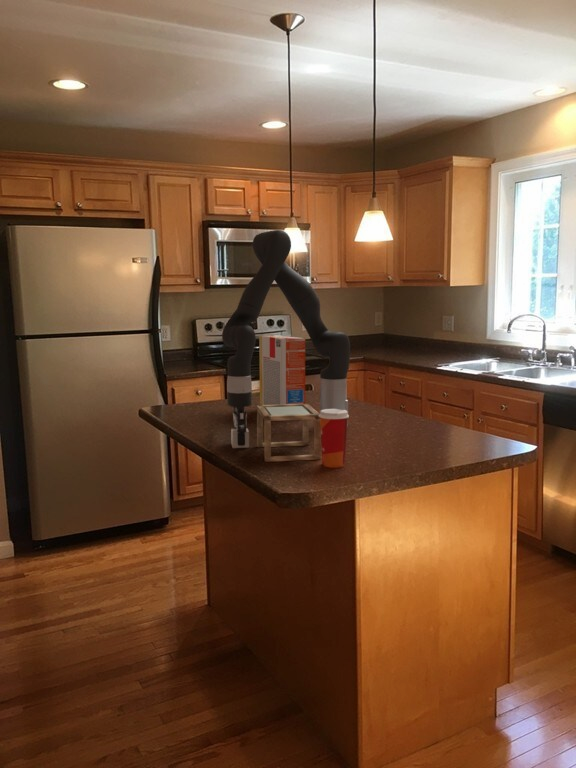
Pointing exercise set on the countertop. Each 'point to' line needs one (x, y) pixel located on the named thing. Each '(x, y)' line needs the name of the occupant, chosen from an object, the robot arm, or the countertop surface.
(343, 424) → the coffee cup
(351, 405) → the countertop surface
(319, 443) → the frame
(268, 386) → the cereal box
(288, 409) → the trapdoor
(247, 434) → the white cube
